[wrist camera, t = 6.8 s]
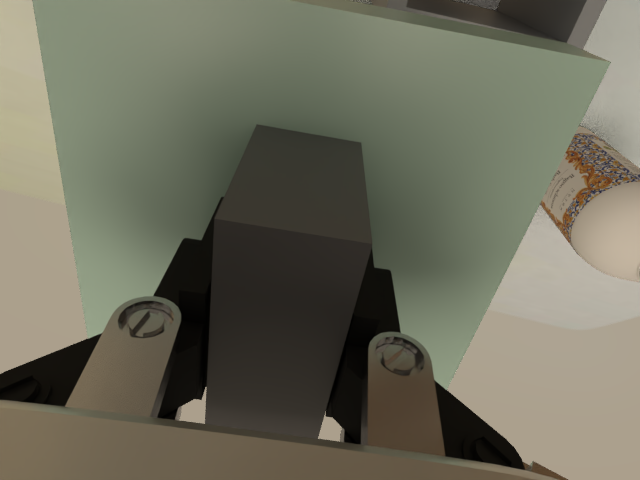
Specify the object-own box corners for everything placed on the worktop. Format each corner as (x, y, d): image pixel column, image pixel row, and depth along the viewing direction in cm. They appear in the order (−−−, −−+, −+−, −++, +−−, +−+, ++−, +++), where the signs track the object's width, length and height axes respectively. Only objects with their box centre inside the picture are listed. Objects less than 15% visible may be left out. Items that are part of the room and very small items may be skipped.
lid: (78, -53, 11) (-195, -47, 5) (566, 42, 12) (775, 135, 6) (118, 319, 18) (17, 493, 12) (425, 363, 19) (463, 546, 13)
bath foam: (543, 113, 40) (691, 241, 23) (613, 134, 40) (804, 272, 24) (504, 181, 43) (607, 333, 27) (569, 199, 44) (708, 358, 28)
